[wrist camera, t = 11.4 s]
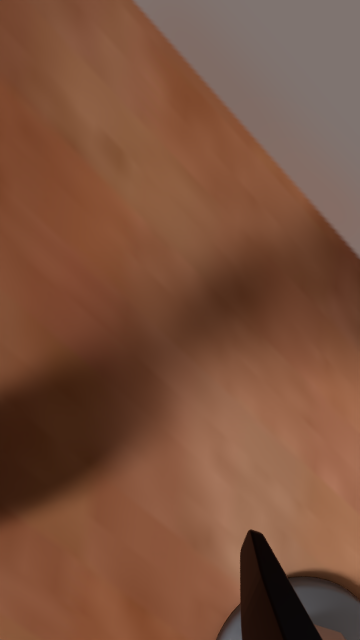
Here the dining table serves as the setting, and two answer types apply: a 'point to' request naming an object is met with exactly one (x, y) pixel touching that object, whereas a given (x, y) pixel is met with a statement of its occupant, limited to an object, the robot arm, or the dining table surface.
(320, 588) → the holder
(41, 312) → the dining table surface
